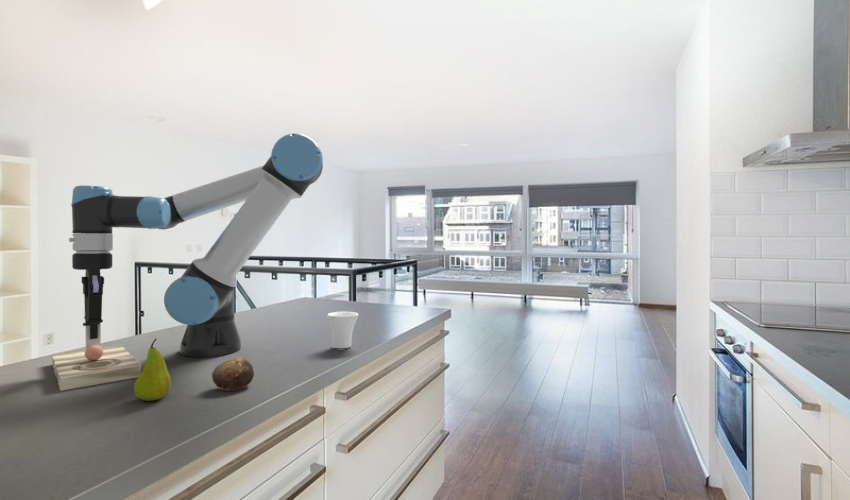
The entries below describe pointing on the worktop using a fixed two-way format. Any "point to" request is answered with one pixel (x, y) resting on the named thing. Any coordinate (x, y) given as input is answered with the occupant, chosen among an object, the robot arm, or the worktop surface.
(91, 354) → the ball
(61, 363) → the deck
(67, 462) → the worktop surface
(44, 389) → the worktop surface
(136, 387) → the fruit
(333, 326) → the cup
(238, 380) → the brown potato
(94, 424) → the worktop surface
